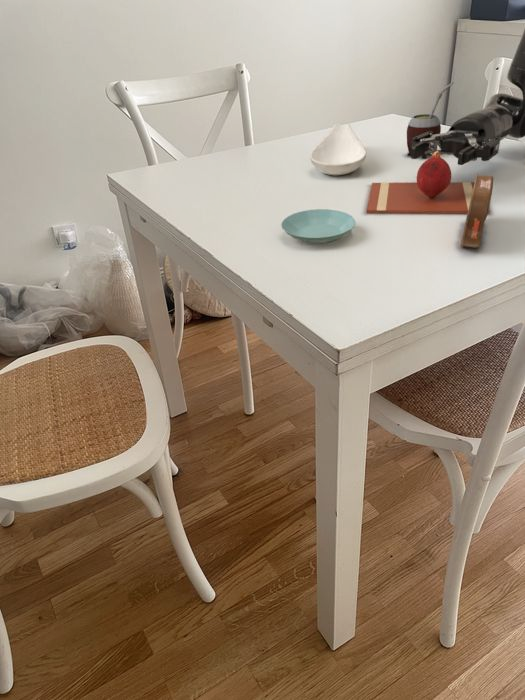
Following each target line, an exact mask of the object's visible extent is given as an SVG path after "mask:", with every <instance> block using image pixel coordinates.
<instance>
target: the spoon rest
mask: <svg viewBox="0 0 525 700" xmlns="http://www.w3.org/2000/svg"><path fill="white" fill-rule="evenodd" d="M366 158H367V149H366V148H365V146H364V145H363V143H362V142H361V140H360V139H359V137H358V136H357V134H356V133H355V132H354V131H353V128H352V127H351V124H350V123H346V124H339V123H335V124H334V125H333V126H332V127H331V129H330V130H329V132H328V133H327V134H326V135H325V137H323V138H322V140H321V141H319V143H317V145H316V146H315V147H314V148H313V149H312V151H311V152H310V154H309V160H310V162H311V164H312V165H313V167H315V169H316V170H318V172H319V171H320V172H321V173H323V174H325V175H327V176H328V175H329V176H345V175H348V174H350V173H352V172H354V171H356V170H357V169H358V168H360V167H361V166H362V164H363V163H364V161H365V159H366Z"/></svg>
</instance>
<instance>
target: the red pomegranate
mask: <svg viewBox="0 0 525 700" xmlns="http://www.w3.org/2000/svg"><path fill="white" fill-rule="evenodd" d="M441 156H442V155H441V153H440V152H438V151H436V152H434V154H433V155H431V156H430V157H429V158H428V159H425V161H423V163H422V164H421V165H420V166H419V168H418V170H417V173H416V182H417V185H418V187H419V189H420V190H421V191H422V192H423V193H424V194H425V195H427V196H428V197H429V198H435V197H436V196H437V195H438V194H440V193H441V192H443V191H444V190H445V189H446V188H447V187H448V185H449V184H450V182H452V169H451V166H450V164H449V163H448V162H447V161H446V160H445V159H444V158H443V157H441Z"/></svg>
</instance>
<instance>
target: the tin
mask: <svg viewBox="0 0 525 700" xmlns="http://www.w3.org/2000/svg"><path fill="white" fill-rule="evenodd" d="M473 182H474V187H473V191H472V196H471V201H470V205H469V210H468V214H466V217H465V224H464V228H463V233H462V237H461V242H460V247H466V248H475V249H476V248H479V247H480V246H481V243H482V237H483V230H484V225H485V221H486V219H487V216H488V215H489V214H488V210H489V211H490V205H491V200H492V195H493V188H494V177H493V176H492V175H486V174H485V175H484V174H478V173H476V174H475V178H474V181H473Z"/></svg>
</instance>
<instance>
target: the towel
mask: <svg viewBox="0 0 525 700" xmlns="http://www.w3.org/2000/svg"><path fill="white" fill-rule="evenodd" d="M474 182H475V181H450V184H449V185H448V187H447V188H446V189H445V190H444V191H443V192H441V193H440V194H438V195H437V196H436V197H435V198H429V197H428V196H427V195H425V194H424V193H423V192H422V191H421V190H420V189H419V187H418V185H417V181H416V182H413V181H411V182H372V183H371V186H370V191H369V196H368V201H367V206H366V211H365V212H366V214H400V215H401V214H403V215H404V214H405V215H408V214H411V215H412V214H413V215H415V214H416V215H420V214H421V215H422V214H423V215H425V214H427V215H436V214H437V215H467V214H468V210H469V205H470V201H471V196H472V191H473V187H474ZM489 213H490V209H489V210H488V214H487V215H489Z"/></svg>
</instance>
